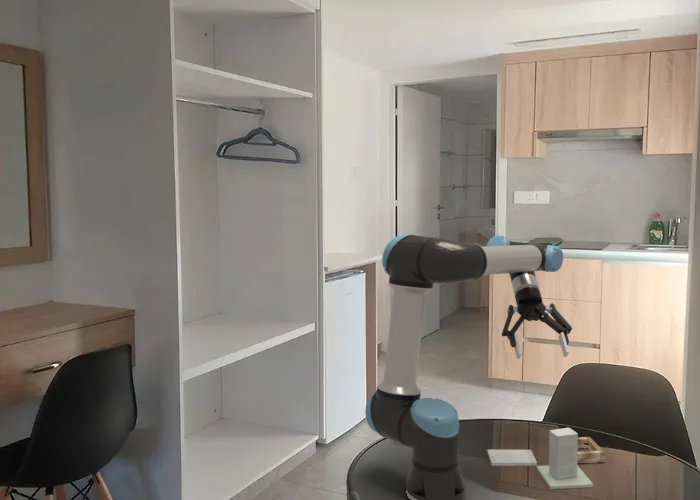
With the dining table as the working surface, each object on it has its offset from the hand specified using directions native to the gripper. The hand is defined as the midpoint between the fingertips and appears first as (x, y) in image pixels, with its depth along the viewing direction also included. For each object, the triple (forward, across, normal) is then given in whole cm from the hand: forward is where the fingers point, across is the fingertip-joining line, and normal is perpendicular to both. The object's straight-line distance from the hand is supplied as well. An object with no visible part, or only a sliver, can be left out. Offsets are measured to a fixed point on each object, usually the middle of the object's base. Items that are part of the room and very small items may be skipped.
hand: (543, 355), depth 187 cm
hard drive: (+24, +10, -16) cm, 31 cm away
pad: (+32, 0, -7) cm, 33 cm away
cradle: (+24, -9, -16) cm, 30 cm away
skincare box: (+32, 0, -7) cm, 32 cm away
